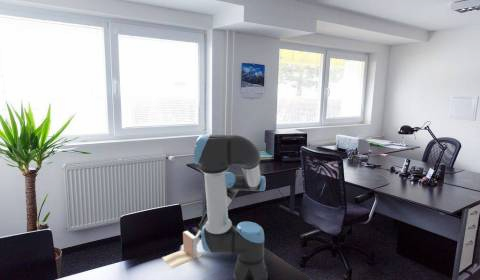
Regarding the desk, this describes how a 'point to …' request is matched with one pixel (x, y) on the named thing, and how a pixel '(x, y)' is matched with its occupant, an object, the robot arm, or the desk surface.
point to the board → (178, 258)
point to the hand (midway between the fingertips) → (194, 242)
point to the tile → (190, 244)
